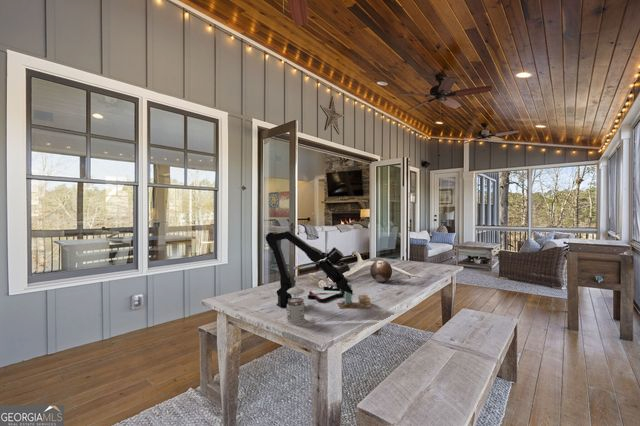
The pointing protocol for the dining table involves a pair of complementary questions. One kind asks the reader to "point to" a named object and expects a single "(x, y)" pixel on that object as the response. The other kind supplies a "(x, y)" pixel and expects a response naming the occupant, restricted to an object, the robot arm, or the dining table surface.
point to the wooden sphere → (381, 271)
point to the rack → (357, 303)
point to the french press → (295, 311)
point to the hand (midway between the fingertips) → (350, 290)
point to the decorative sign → (326, 293)
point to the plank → (348, 296)
